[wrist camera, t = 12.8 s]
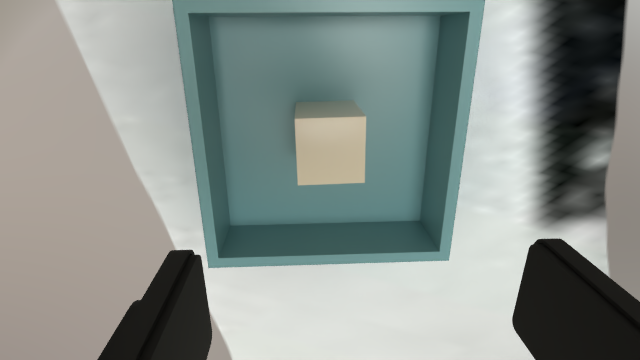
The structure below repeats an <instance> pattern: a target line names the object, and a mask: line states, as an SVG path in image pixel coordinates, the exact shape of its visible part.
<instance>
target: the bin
mask: <svg viewBox="0 0 640 360" xmlns="http://www.w3.org/2000/svg"><path fill="white" fill-rule="evenodd" d="M172 2H173V10H174V17H175V24H176V32H177V39H178V47H179V54H180V61H181V69H182V76H183V83H184V91H185V98H186V105H187V113H188V120H189V128H190V135H191V142H192V150H193V157H194V164H195V172H196V179H197V186H198V194H199V201H200V209H201V216H202V223H203V231H204V238H205V245H206V253H207V260H208V268H221V267H253V266H285V265H318V264H350V263H382V262H414V261H447V260H449V255H450V248H451V241H452V234H453V227H454V220H455V212H456V205H457V198H458V191H459V184H460V177H461V170H462V162H463V155H464V148H465V141H466V134H467V127H468V119H469V112H470V105H471V98H472V91H473V84H474V76H475V69H476V62H477V55H478V48H479V41H480V33H481V26H482V19H483V12H484V5H485V0H172ZM350 100H354V101H355V103H356V104H357V105H358V107H359V108H360V109H361V110H362V112H363V113H364V114H365V116H366V147H365V183H348V184H322V185H298V179H297V159H296V138H295V108H296V102H318V101H350Z"/></svg>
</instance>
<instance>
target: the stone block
mask: <svg viewBox="0 0 640 360" xmlns="http://www.w3.org/2000/svg"><path fill="white" fill-rule="evenodd" d="M295 138H296V159H297V179H298V185H322V184H348V183H365V147H366V116H365V114H364V113H363V112H362V110H361V109H360V108H359V107H358V105H357V104H356V103H355V101H354V100H350V101H318V102H296V108H295Z"/></svg>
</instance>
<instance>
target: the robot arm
mask: <svg viewBox="0 0 640 360" xmlns="http://www.w3.org/2000/svg"><path fill="white" fill-rule="evenodd" d="M512 322H513V327H514V329H515V331H516V333H517V334H518V336H519V337H520V338H521V340H522V341H523V343H524V344H525V345H526V347H527V348H528V350H529V351H530V353H531V354H532V355H533V357H534V358H535V360H640V302H639V301H638V300H637V299H635V298H634V297H633V296H632V295H630V294H629V293H628V292H627V291H625V290H624V289H623V288H622V287H620V286H619V285H618V284H617V283H616V282H614V281H613V280H612V279H611V278H609V277H608V276H607V275H606V274H604V273H603V272H602V271H601V270H599V269H598V268H597V267H596V266H594V265H593V264H592V263H591V262H590V261H588V260H587V259H586V258H585V257H583V256H582V255H581V254H580V253H578V252H577V251H576V250H575V249H573V248H572V247H571V246H570V245H568V244H567V243H566V242H565V241H563V240H562V239H539V240H537V241H536V242H535V243H534V244H533V245H531V246H530V248H529V251H528V255H527V259H526V263H525V268H524V272H523V276H522V280H521V284H520V288H519V293H518V297H517V301H516V305H515V309H514V313H513V318H512ZM211 340H212V328H211V321H210V314H209V307H208V301H207V294H206V287H205V280H204V274H203V267H202V260H201V256H200V255H194V252H193V250H174V251H173V250H172V251H170V252H169V254H168V255H167V257H166V258H165V260H164V262H163V264H162V265H161V267H160V269H159V270H158V272H157V274H156V276H155V277H154V279H153V281H152V282H151V284H150V286H149V287H148V290H147V291H146V293H145V294H144V296H143V298H142V299H141V300H137V301H135V302H133V303H132V305H131V306H130V308H129V309H128V311H127V312H126V314H125V316H124V317H123V319H122V320H121V322H120V324H119V325H118V327H117V329H116V330H115V332H114V334H113V335H112V337H111V339H110V340H109V342H108V343H107V345H106V347H105V348H104V350H103V352H102V353H101V355H100V356H99V358H98V360H206V359H207V356H208V352H209V348H210V345H211Z"/></svg>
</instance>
